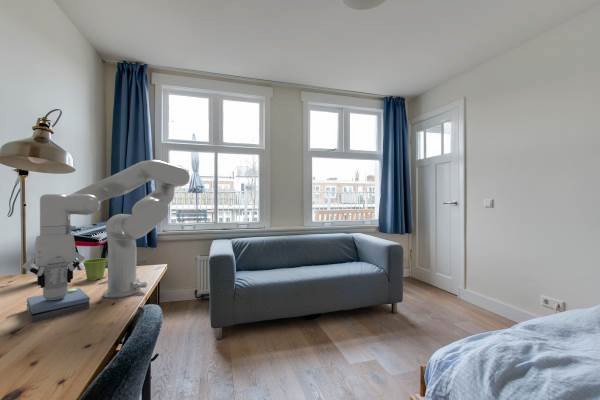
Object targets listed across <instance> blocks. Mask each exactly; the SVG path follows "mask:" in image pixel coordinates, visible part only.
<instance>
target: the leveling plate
mask: <svg viewBox="0 0 600 400" xmlns="http://www.w3.org/2000/svg"><path fill="white" fill-rule="evenodd" d="M90 300H91V299H90V296H89V295H88V294H87V293H86V292H84V291H83V290H82V289H81V288H69V289H68V293H67V294H66V295H65V297H63V298H60V299H56V300H46V299H45V298H44V297H43V294H40V295H35V296H29V297H26V303H27V304H28V306H29V308H30V310H31V313H32V314H35V313H39V312H44V311H49V310H53V309H58V308H62V307H67V306H72V305H76V304H81V303H86V302H89V303H90ZM27 304H26V305H27Z"/></svg>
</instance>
